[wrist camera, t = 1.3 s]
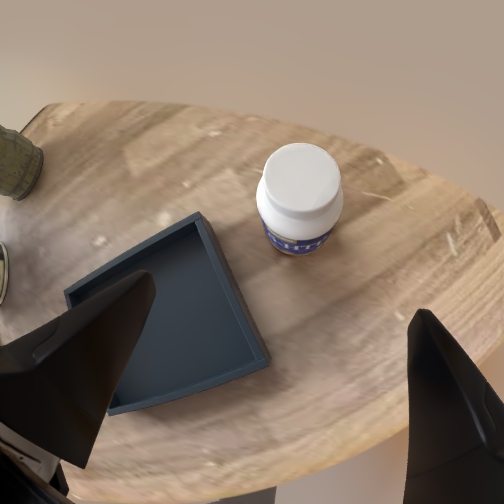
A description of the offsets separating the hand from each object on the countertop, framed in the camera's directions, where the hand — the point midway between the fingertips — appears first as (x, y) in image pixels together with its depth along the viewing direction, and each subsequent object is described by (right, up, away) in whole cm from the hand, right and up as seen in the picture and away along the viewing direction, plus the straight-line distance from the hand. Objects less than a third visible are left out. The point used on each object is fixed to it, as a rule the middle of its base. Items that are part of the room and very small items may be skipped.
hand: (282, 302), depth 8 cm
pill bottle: (+3, +4, +14) cm, 14 cm away
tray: (-9, -5, +13) cm, 17 cm away
